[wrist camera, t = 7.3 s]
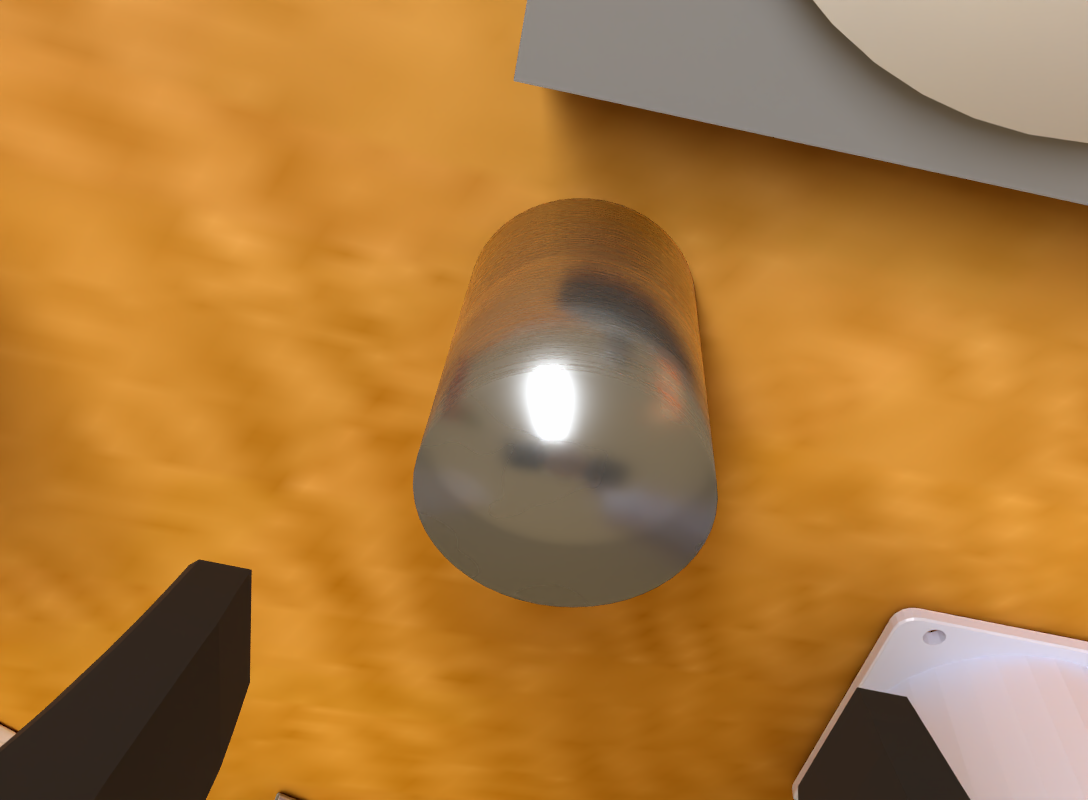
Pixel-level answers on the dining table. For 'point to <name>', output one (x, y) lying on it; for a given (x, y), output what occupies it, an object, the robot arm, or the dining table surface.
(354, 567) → the dining table surface
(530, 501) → the steel weight
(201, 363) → the dining table surface
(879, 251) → the dining table surface
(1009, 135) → the kitchen scale
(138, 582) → the dining table surface
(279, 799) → the caliper
